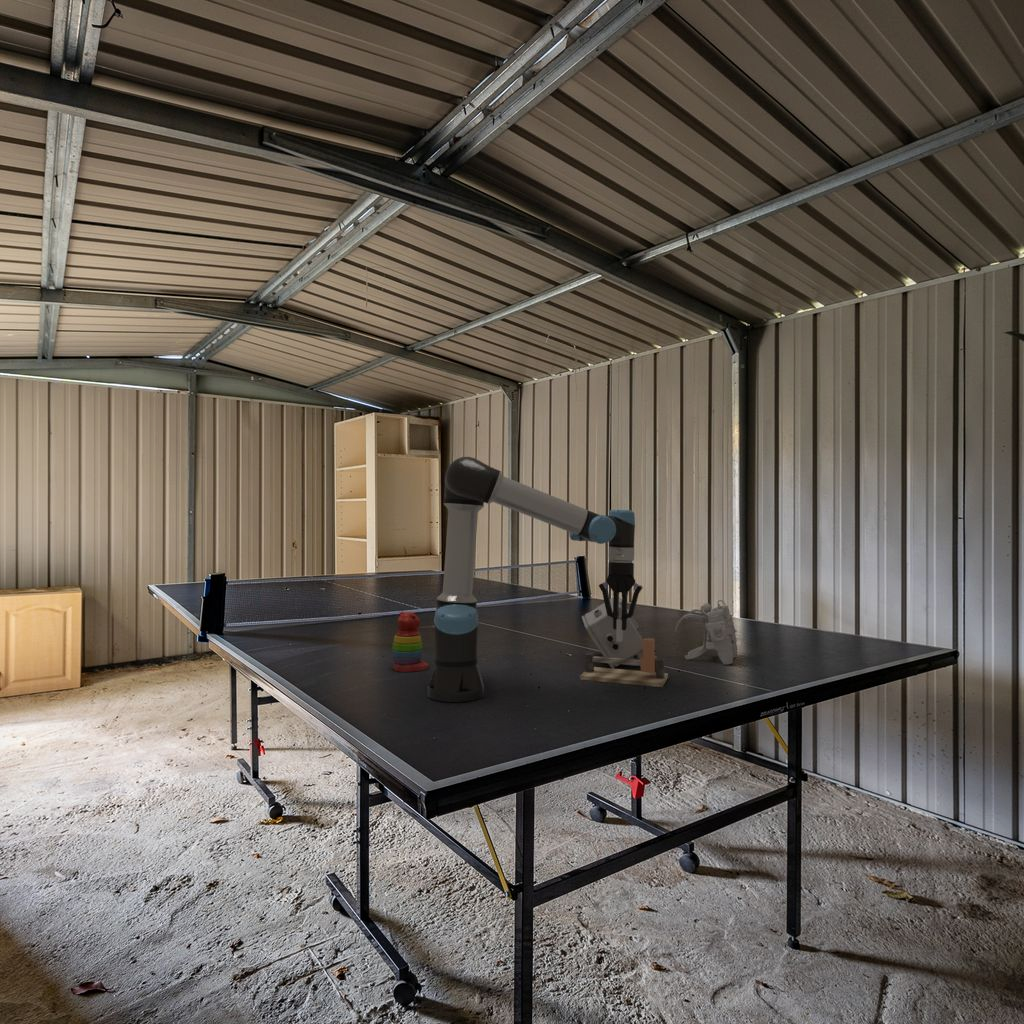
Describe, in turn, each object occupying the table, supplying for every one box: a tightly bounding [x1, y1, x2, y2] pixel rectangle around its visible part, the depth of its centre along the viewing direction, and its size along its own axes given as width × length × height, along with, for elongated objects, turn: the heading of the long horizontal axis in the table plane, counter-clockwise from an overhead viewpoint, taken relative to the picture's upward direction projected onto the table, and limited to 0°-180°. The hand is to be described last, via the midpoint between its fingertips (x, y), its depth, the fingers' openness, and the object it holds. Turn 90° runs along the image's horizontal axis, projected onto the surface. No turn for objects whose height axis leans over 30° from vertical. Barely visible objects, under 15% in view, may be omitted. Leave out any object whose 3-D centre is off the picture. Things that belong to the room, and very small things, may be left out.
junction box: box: [581, 596, 644, 669], centre depth 216 cm, size 24×15×22 cm
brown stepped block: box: [640, 637, 658, 673], centre depth 192 cm, size 4×4×9 cm
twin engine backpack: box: [674, 599, 738, 665], centre depth 221 cm, size 18×19×20 cm
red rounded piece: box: [391, 611, 430, 673], centre depth 207 cm, size 11×10×18 cm
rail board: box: [579, 652, 669, 688], centre depth 195 cm, size 24×12×6 cm, turn 70°
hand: (619, 640), depth 195 cm, fingers closed
